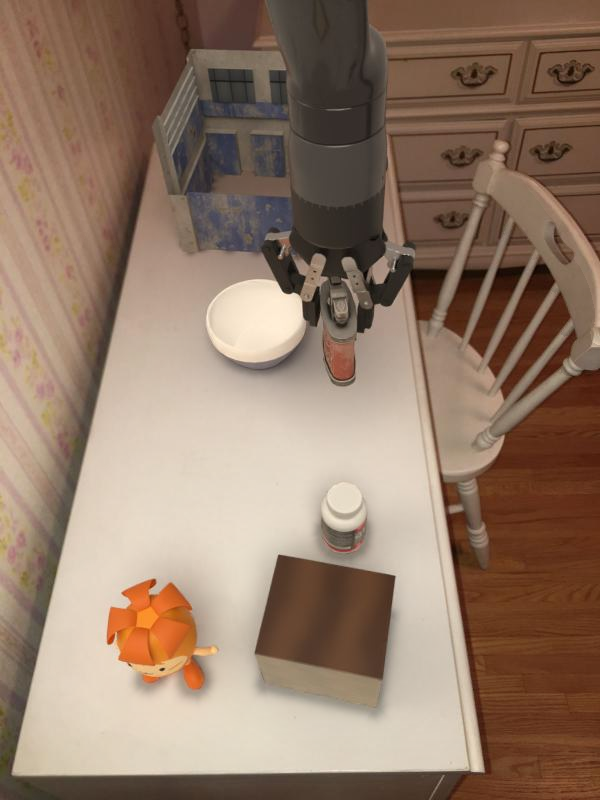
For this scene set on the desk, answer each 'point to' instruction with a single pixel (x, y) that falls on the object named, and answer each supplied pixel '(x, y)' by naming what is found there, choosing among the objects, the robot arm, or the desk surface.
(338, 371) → the lighter
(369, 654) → the block
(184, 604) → the toy figure
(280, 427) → the desk surface
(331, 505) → the pill bottle
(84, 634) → the desk surface
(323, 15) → the robot arm
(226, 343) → the bowl
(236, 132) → the building
